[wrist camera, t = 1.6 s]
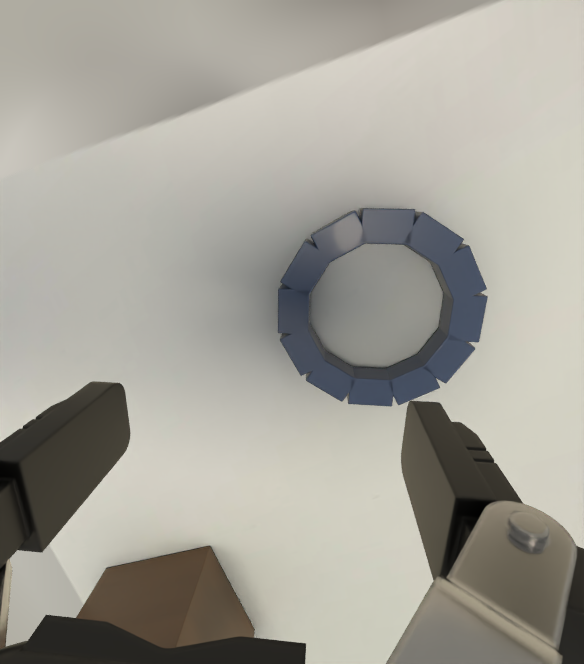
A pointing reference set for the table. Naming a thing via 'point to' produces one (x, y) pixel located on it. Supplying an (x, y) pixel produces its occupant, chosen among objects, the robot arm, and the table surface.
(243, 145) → the table surface
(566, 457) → the table surface
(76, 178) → the table surface
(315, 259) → the ring
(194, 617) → the stand
